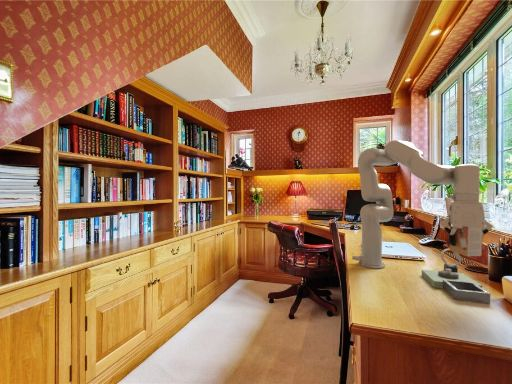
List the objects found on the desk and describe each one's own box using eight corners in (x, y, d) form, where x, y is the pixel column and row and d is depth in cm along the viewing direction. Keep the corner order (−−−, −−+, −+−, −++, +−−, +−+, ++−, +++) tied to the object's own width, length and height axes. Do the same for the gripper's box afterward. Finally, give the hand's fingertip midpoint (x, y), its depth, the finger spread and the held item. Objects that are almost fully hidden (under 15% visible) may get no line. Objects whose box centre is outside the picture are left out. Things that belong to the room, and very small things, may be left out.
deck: (433, 287, 105) (434, 273, 105) (421, 275, 121) (421, 263, 121) (482, 292, 101) (482, 277, 101) (462, 278, 116) (463, 266, 116)
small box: (449, 251, 101) (449, 223, 101) (462, 250, 101) (463, 223, 101) (467, 256, 93) (468, 226, 93) (482, 256, 93) (482, 226, 93)
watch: (462, 275, 122) (463, 251, 121) (441, 272, 125) (442, 249, 125) (459, 271, 127) (460, 248, 127) (439, 269, 130) (439, 247, 130)
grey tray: (455, 300, 93) (455, 290, 93) (442, 288, 104) (442, 279, 104) (490, 303, 90) (490, 293, 90) (472, 291, 102) (472, 282, 102)
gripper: (442, 197, 96) (441, 246, 96) (500, 198, 91) (499, 250, 91) (434, 197, 103) (434, 242, 103) (488, 198, 98) (487, 245, 98)
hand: (465, 245), depth 97 cm, fingers closed on small box, 7 cm apart
